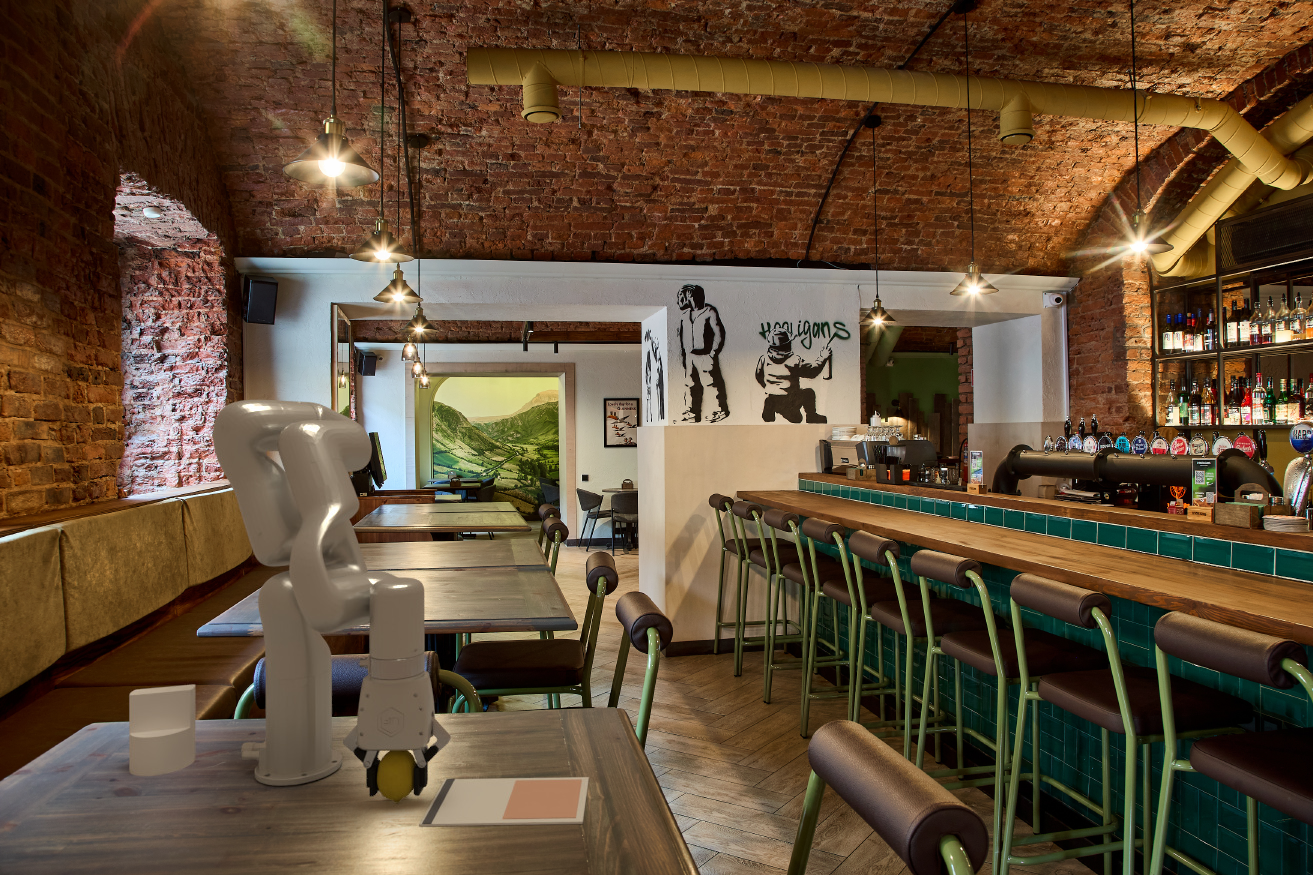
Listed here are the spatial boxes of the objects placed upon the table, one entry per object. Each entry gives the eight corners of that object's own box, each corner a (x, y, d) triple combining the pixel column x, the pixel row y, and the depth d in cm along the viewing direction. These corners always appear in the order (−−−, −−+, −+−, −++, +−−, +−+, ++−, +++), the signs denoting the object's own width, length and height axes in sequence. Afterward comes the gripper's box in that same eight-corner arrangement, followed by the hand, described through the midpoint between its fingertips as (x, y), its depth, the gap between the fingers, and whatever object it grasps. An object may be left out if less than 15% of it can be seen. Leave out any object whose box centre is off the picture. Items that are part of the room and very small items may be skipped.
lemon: (423, 794, 115) (423, 740, 115) (407, 812, 109) (407, 755, 109) (387, 793, 115) (387, 738, 115) (369, 810, 110) (369, 753, 110)
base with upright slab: (201, 750, 132) (201, 678, 132) (187, 771, 123) (187, 695, 123) (139, 757, 129) (139, 684, 129) (121, 779, 120) (121, 701, 121)
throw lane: (419, 826, 105) (419, 823, 105) (444, 781, 119) (444, 778, 119) (582, 823, 106) (582, 820, 106) (588, 778, 120) (588, 776, 120)
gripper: (326, 674, 108) (326, 804, 108) (451, 672, 109) (451, 803, 109) (346, 658, 116) (346, 781, 116) (463, 657, 116) (463, 779, 116)
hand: (397, 790), depth 112 cm, fingers closed on lemon, 5 cm apart
